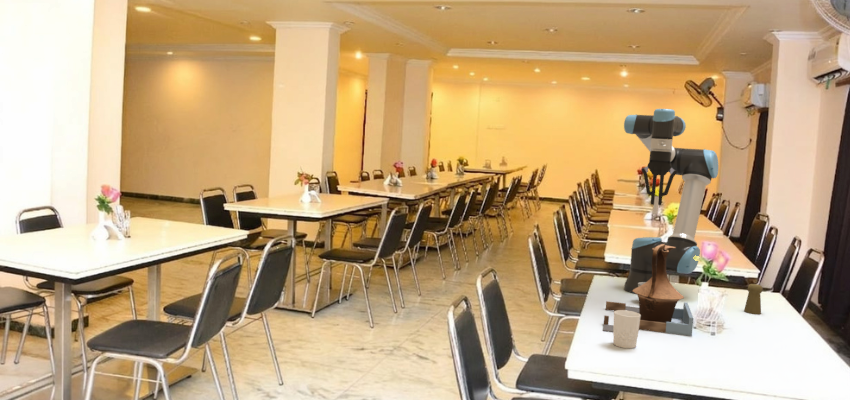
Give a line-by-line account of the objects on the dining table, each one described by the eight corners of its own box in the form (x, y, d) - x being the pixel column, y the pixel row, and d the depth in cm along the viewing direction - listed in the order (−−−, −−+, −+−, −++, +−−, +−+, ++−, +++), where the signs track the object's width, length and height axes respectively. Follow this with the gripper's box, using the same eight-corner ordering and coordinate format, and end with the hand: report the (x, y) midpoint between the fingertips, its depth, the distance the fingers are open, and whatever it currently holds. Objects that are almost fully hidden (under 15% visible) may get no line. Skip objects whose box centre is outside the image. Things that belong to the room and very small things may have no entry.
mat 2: (622, 311, 263) (622, 310, 263) (622, 306, 270) (622, 305, 270) (650, 314, 260) (650, 313, 260) (649, 309, 268) (649, 308, 268)
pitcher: (672, 332, 236) (680, 249, 233) (622, 322, 246) (629, 242, 243) (686, 323, 250) (694, 244, 248) (638, 313, 260) (645, 238, 257)
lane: (603, 324, 241) (604, 316, 240) (605, 309, 264) (606, 301, 264) (665, 332, 235) (666, 323, 235) (661, 315, 259) (662, 307, 258)
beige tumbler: (623, 350, 212) (626, 317, 211) (605, 342, 219) (608, 310, 218) (643, 347, 216) (646, 315, 215) (625, 340, 223) (627, 309, 222)
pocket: (665, 332, 235) (667, 315, 235) (662, 316, 259) (663, 299, 258) (691, 336, 233) (693, 318, 232) (685, 318, 256) (687, 302, 256)
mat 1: (602, 330, 233) (602, 330, 233) (603, 325, 240) (603, 324, 240) (634, 334, 230) (634, 334, 230) (634, 328, 238) (634, 328, 238)
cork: (757, 311, 277) (760, 283, 276) (763, 314, 271) (766, 286, 270) (741, 309, 277) (744, 282, 276) (747, 313, 271) (750, 285, 270)
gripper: (642, 149, 262) (637, 212, 264) (680, 151, 258) (674, 216, 260) (642, 149, 269) (636, 211, 271) (678, 151, 265) (672, 214, 268)
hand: (655, 213), depth 266 cm, fingers closed
